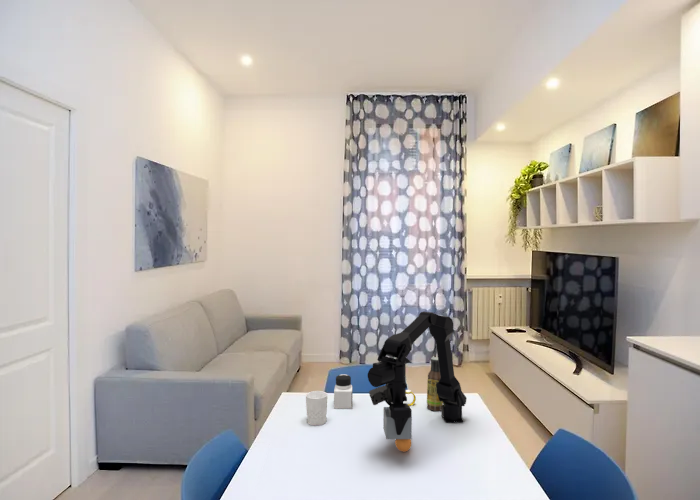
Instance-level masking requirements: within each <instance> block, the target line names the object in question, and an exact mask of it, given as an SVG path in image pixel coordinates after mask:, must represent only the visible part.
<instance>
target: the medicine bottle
mask: <svg viewBox="0 0 700 500" xmlns="http://www.w3.org/2000/svg"><path fill="white" fill-rule="evenodd" d="M333 408H334V409H336V410H338V409H339V410H344V409H345V410H350V409H351V410H352V409H353V385H352V376H351V375H349V374H338V375H337V376H336V377H335V385H334V390H333Z"/></svg>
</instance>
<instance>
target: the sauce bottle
mask: <svg viewBox="0 0 700 500" xmlns="http://www.w3.org/2000/svg"><path fill="white" fill-rule="evenodd" d="M426 380H427V382H426V384H427V386H426V408H427V409H428V410H430V411H433V412H439V411H442V405H443V402H442V401H439V397H438V394H437V388H436V384H437V383H438V382H439V380H440V369H439V362H438V356H436V357H435V356H434V357H431V358H430V370H429V372H428V374H427V379H426Z"/></svg>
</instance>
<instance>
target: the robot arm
mask: <svg viewBox="0 0 700 500" xmlns="http://www.w3.org/2000/svg"><path fill="white" fill-rule="evenodd" d="M428 329H429V333H430V334H431V336H432V338H433V339H434V340H435V346H436V353H437V357H438V362H439V369H440V380H439V382H438V383H437V384H436V388H437V394H438V397H439V401H442V402H443V405H442V410H441V417H442V418H443V420H444V422H445V423H448V424H449V423H452V424H453V423H464V419H463V407H465V405H466V404H467V396H466V395H465V394H464V392H463V391H462V387H461V386H462V385H461V383H460V381H459V380H458V379H457V377H456V376H455V371H454V370H455V369H454V362H453V356H452V346H451V339H450V338H451V337H452V335H453V333H454V321H453V319H452V317H450V316H448V315H438V314H436V313H434V312H430V311H421V312H420V313H419V315H418V316H417V317H416V318H415V319H414V320H413V321H412V322H411V323H409V324H408V326H406V327H405V328H404V330H402V331H401V332H399V333H395V334H392V335H391V336H389V337H388V338H386V339H385V341H384V343H383V345H382V348H381V350H380V353H379V354H378V357H377V359H376V360H377V362H373V363H372V367H371V368H369V370H368V371H367V372H368V373H367V379H368V382H369V383H370V385H371V386H372V387H374V388H373V389H370V390H369V391H368V394H369V397H370V399H371V403H372V405H373V406H377V405H379V404H380V403H383V402H385V403H386V404H387V405H388V407H389V415H390V417H391V418H393V419H394V422H395V427H396V432H397V435H401V433H402V431H403V428H404V426H405V424H406V422H407V420H408V418H410V417H412V415H413V414H412V409H411V406H409V405H408V404H409V403H406V402H408V398H407V394H406V390H407V388H408V386H407V385H408V384H407V382H406V380H407V379H406V378H407V377H406V370H407V369H406V368H407V367H406V365H407V364H409V363H410V359H408V356H409V354H410V353H411V351H412V350H413V344H414V343H415V342H416V341H417V340H418V339H419V338H420V337H421V336H422V334H423V333H425V332H426V330H428ZM412 418H413V417H412Z"/></svg>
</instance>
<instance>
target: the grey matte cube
mask: <svg viewBox="0 0 700 500" xmlns="http://www.w3.org/2000/svg"><path fill="white" fill-rule="evenodd" d="M412 418H413V417H410V418H408V420H407V422H406V424H405V426H404V428H403V431H402V433H401V435H397V432H396V427H395V422H394V419H393V418H391V417H390V415H389V406H384V407H383V418H382V419H383V427H382V428H383V433H384V435H385V439H386V440H396V439H411V440H412V439H413V438H412V437H413V435H412V430H413V429H412V428H413V426H412V425H413V423H412V421H413V419H412Z"/></svg>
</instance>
